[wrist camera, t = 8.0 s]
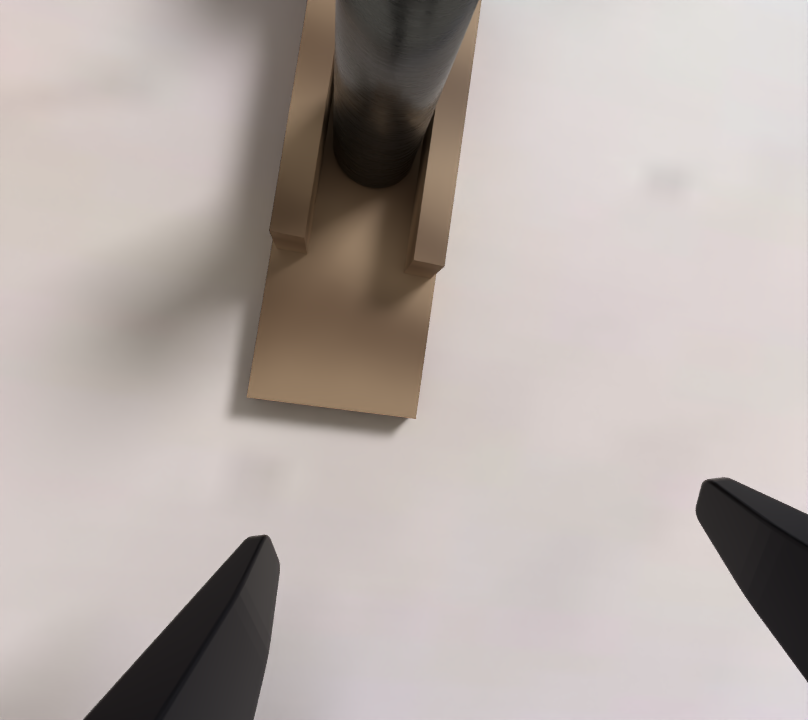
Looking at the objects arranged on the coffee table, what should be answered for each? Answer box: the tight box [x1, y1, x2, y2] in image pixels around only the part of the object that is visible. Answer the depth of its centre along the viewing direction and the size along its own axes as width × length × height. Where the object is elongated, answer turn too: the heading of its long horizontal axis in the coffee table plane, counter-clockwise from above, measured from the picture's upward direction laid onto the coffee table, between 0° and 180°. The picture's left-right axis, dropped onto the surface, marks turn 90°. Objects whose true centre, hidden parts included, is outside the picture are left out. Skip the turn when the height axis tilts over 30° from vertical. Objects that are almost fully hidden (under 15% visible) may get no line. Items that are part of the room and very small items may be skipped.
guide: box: [247, 0, 481, 419], centre depth 16 cm, size 19×7×3 cm, turn 171°
